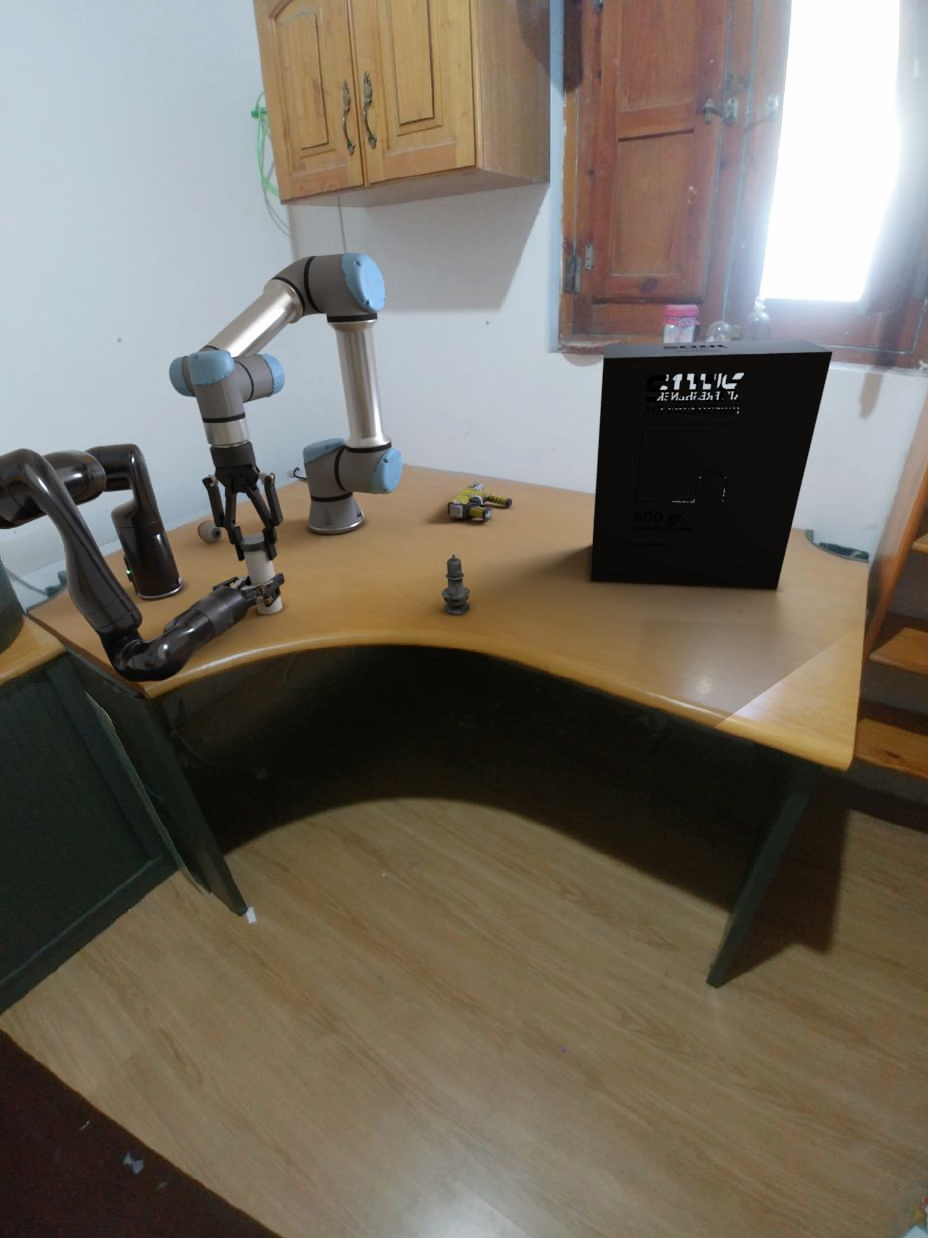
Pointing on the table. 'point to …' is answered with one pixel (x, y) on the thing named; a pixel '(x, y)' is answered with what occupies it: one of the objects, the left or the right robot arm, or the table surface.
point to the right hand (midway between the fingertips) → (258, 557)
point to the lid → (252, 543)
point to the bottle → (261, 576)
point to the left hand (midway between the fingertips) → (271, 575)
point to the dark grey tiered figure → (455, 588)
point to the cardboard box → (703, 460)
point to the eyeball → (209, 531)
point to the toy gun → (474, 503)
